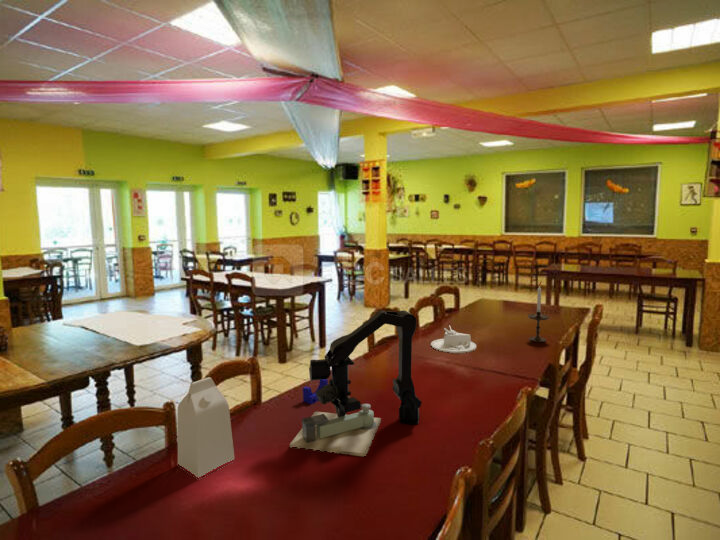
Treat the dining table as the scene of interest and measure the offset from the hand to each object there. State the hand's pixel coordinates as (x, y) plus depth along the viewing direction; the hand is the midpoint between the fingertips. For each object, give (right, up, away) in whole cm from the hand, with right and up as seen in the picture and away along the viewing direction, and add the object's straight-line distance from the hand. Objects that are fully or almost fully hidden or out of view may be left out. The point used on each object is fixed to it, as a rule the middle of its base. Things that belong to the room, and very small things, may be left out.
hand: (340, 420), depth 151 cm
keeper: (-8, -3, -7) cm, 11 cm away
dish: (+59, +9, +93) cm, 110 cm away
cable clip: (-11, 0, +27) cm, 29 cm away
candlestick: (+110, +11, +102) cm, 150 cm away
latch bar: (+2, -2, -3) cm, 4 cm away
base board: (-1, -3, -3) cm, 4 cm away
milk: (-40, -6, -19) cm, 45 cm away
